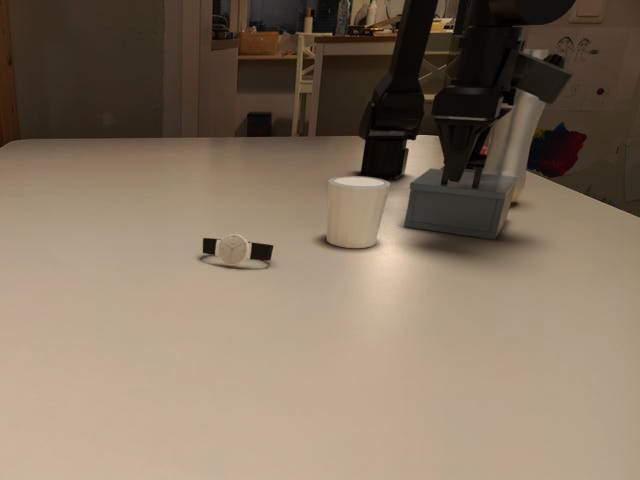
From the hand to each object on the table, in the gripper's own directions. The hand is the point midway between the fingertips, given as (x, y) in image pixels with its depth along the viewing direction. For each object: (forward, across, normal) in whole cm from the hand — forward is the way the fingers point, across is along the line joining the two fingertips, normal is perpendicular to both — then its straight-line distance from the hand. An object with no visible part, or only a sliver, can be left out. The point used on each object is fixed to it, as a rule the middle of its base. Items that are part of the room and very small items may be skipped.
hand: (461, 174), depth 74 cm
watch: (+7, -25, +17) cm, 31 cm away
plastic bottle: (+7, +19, -3) cm, 21 cm away
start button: (+4, +38, +4) cm, 38 cm away
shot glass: (+7, -11, +9) cm, 16 cm away
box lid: (+2, +4, 0) cm, 4 cm away
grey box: (+7, +4, 0) cm, 8 cm away
